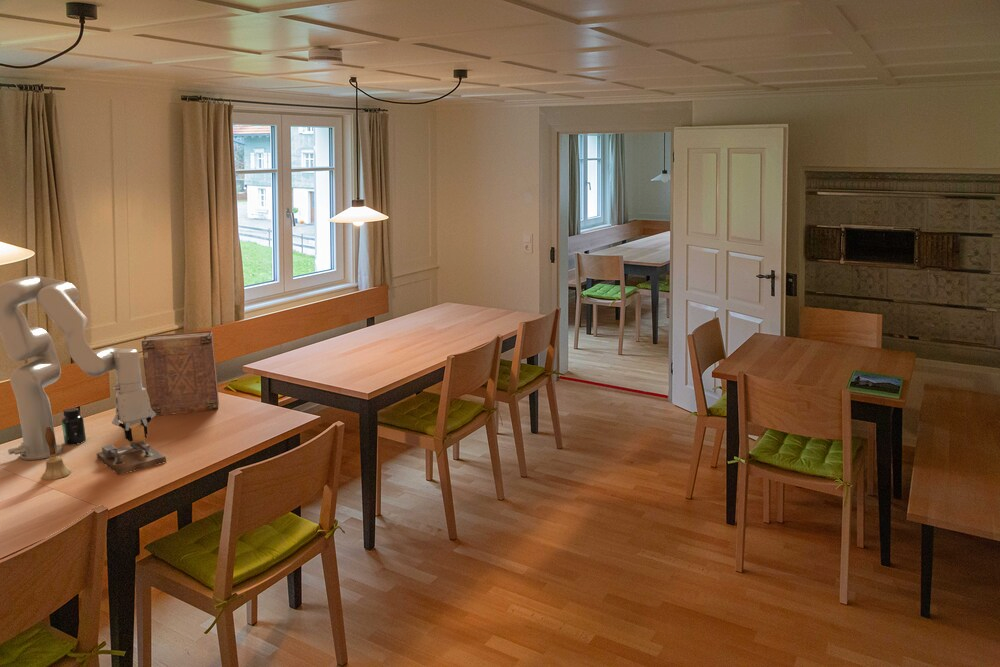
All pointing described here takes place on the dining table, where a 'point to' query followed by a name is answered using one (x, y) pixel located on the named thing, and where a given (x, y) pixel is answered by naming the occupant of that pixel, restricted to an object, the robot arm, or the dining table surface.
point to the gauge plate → (129, 458)
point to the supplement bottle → (73, 426)
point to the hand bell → (54, 460)
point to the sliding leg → (138, 437)
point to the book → (180, 372)
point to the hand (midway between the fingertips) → (136, 438)
